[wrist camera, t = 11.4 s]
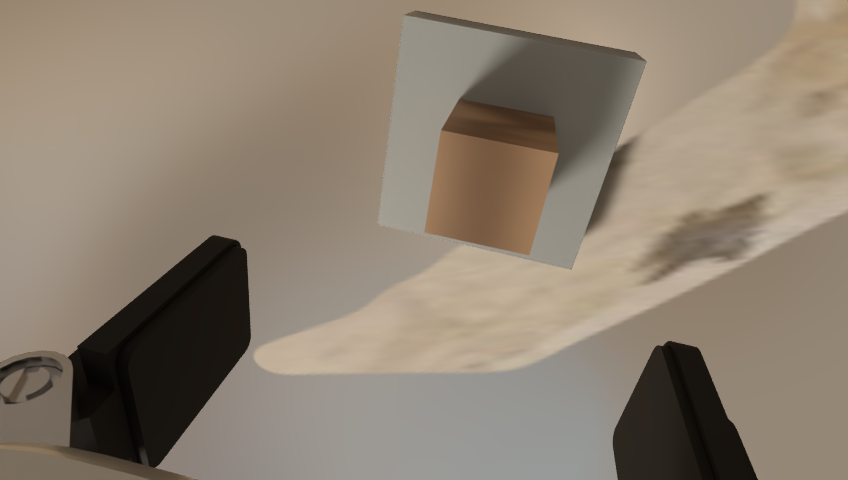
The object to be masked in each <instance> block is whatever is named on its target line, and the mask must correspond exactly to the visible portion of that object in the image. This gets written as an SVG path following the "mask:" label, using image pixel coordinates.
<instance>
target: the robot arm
mask: <svg viewBox="0 0 848 480" xmlns="http://www.w3.org/2000/svg"><path fill="white" fill-rule="evenodd" d="M248 290H249V289H248V269H247V253H246V250H245V249H244V248H241V245H240V243H239V242H238V241H237V240H233V239H229V238H224V237H220V236H215V235H214V236H211V237H209V238H208V239H207V240H206V241H205V242H203V243H202V244H201V245H200V246H198V247H197V248H196V249H195V250H193V251H192V252H191V253H190V254H189V255H187V256H186V257H185V258H184V259H183V260H182V261H180V262H179V263H178V264H177V265H175V266H174V267H173V268H172V269H170V270H169V271H168V272H167V273H166V274H165V275H163V276H162V277H161V278H160V279H159V280H157V281H156V282H155V283H154V284H152V285H151V286H150V287H149V288H147V289H146V290H145V291H144V292H143V293H141V294H140V295H139V296H138V297H137V298H135V299H134V300H133V301H132V302H130V303H129V304H128V305H127V306H126V307H124V308H123V309H122V310H121V311H120V312H118V313H117V314H116V315H115V316H114V317H112V318H111V319H110V320H109V321H107V322H106V323H105V324H104V325H103V326H101V327H100V328H99V329H98V330H97V331H95V332H94V333H93V334H92V335H90V336H89V337H88V338H87V339H86V340H84V341H83V342H82V343H81V344H80V345H78V346H77V347H78V349H77V350H76V351H75V352H74V353H72V354H71V355H70V356H69V357H68V358H67V357H66V356H65V355H63V354H60V353H58V352H53V351H36V352H28V353H24V354H20V355H17V356H13V357H11V358H9V359H6V360H4V361H2V362H0V480H197V479H193V478H190V477H186V476H183V475H179V474H176V473H172V472H168V471H164V470H161V469H157V468H155V467H156V466H158V465H159V464H160V463H161V462H162V460H163V459H164V457H165V456H166V455H167V454H168V452H169V451H170V450H171V449H172V447H173V446H174V445H175V443H176V442H177V441H178V439H179V438H180V437H181V435H182V434H183V433H184V431H185V430H186V429H187V428H188V426H189V425H190V424H191V422H192V421H193V420H194V418H195V417H196V416H197V414H198V413H199V412H200V411H201V409H202V408H203V407H204V405H205V404H206V402H207V401H208V400H209V399H210V397H211V396H212V395H213V393H214V392H215V391H216V389H217V388H218V387H219V386H220V384H221V383H222V382H223V380H224V379H225V377H226V376H227V375H228V374H229V372H230V371H231V370H232V369H233V367H234V366H235V365H236V363H237V362H238V361H239V359H240V358H241V357H242V355H243V354H244V353H245V351H246V350H247V348H248V346H249V343H250V339H251V333H250V332H251V331H250V310H249V291H248ZM613 450H614V456H615V463H616V470H617V477H618V480H758V479H757V477H756V474H755V472H754V470H753V467H752V465H751V462H750V460H749V457H748V455H747V453H746V450H745V448H744V446H743V443H742V441H741V438H740V436H739V434H738V431H737V429H736V428H735V426H734V424H733V423H732V422H731V421H730V420H729V419H728V418H727V415H726V413H725V410H724V408H723V405H722V403H721V400H720V398H719V396H718V393H717V391H716V388H715V386H714V383H713V381H712V378H711V376H710V374H709V371H708V369H707V366H706V364H705V362H704V359H703V357H702V354H701V352H700V350H699V349H698V348H697V347H693V346H689V345H685V344H680V343H676V342H672V341H668V342H666V343H665V344H664V346H659V345H658V346H656V347H655V348H654V350H653V352H652V354H651V356H650V358H649V360H648V362H647V364H646V366H645V368H644V370H643V372H642V374H641V376H640V378H639V381H638V383H637V385H636V387H635V389H634V391H633V393H632V395H631V397H630V399H629V401H628V403H627V405H626V407H625V409H624V411H623V413H622V416H621V418H620V420H619V422H618V424H617V426H616V428H615V431H614V435H613Z"/></svg>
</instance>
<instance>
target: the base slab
mask: <svg viewBox="0 0 848 480" xmlns="http://www.w3.org/2000/svg"><path fill="white" fill-rule="evenodd" d="M645 64H646V61H645V60H644V59H643V58H642V57H640V56H639V55H638V54H637V53H635V52H630V51H625V50H620V49H614V48H609V47H604V46H599V45H593V44H587V43H583V42H577V41H572V40H567V39H562V38H556V37H551V36H546V35H540V34H535V33H530V32H525V31H520V30H514V29H509V28H504V27H498V26H493V25H488V24H483V23H477V22H472V21H467V20H462V19H457V18H451V17H446V16H441V15H435V14H430V13H425V12H420V11H414V12H411V13H408V14H405V15H403V23H402V31H401V39H400V47H399V55H398V64H397V72H396V80H395V88H394V96H393V104H392V112H391V120H390V129H389V136H388V145H387V153H386V161H385V169H384V177H383V185H382V194H381V201H380V209H379V218H378V225H381V226H386V227H390V228H394V229H399V230H403V231H407V232H411V233H416V234H420V235H425V236H429V237H433V238H437V239H442V240H446V241H450V242H455V243H459V244H463V245H467V246H472V247H476V248H480V249H485V250H489V251H493V252H498V253H502V254H506V255H511V256H515V257H519V258H523V259H528V260H532V261H536V262H541V263H545V264H549V265H554V266H558V267H562V268H567V269H571V270H572V268H573V265H574V262H575V259H576V256H577V254H578V251H579V248H580V245H581V242H582V240H583V237H584V234H585V231H586V229H587V226H588V223H589V220H590V217H591V215H592V212H593V209H594V206H595V203H596V201H597V198H598V195H599V192H600V190H601V187H602V184H603V181H604V178H605V176H606V173H607V170H608V167H609V165H610V162H611V159H612V156H613V153H614V151H615V148H616V145H617V142H618V139H619V137H620V134H621V131H622V128H623V125H624V123H625V120H626V117H627V114H628V112H629V109H630V106H631V103H632V100H633V98H634V95H635V92H636V89H637V86H638V84H639V81H640V78H641V75H642V73H643V70H644V67H645ZM459 99H463V100H468V101H473V102H479V103H484V104H489V105H494V106H500V107H505V108H510V109H515V110H521V111H526V112H531V113H536V114H541V115H547V116H552V117H554V122H555V129H556V137H557V145H558V152H559V154H558V158H557V161H556V165H555V168H554V172H553V175H552V178H551V182H550V185H549V189H548V192H547V196H546V199H545V203H544V206H543V210H542V213H541V217H540V220H539V224H538V227H537V231H536V234H535V238H534V241H533V245H532V248H531V251H530V255H525V254H520V253H516V252H511V251H506V250H502V249H497V248H493V247H488V246H484V245H479V244H475V243H470V242H465V241H461V240H456V239H452V238H447V237H443V236H438V235H433V234H429V233H424V231H425V225H426V219H427V213H428V207H429V200H430V194H431V188H432V182H433V176H434V170H435V163H436V157H437V151H438V145H439V139H440V132H441V129H442V127H443V126H444V124H445V122H446V121H447V119H448V117H449V115H450V114H451V112H452V110H453V109H454V107H455V105H456V103H457V102H458V100H459Z"/></svg>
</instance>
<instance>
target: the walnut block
mask: <svg viewBox="0 0 848 480" xmlns="http://www.w3.org/2000/svg"><path fill="white" fill-rule="evenodd" d="M558 154H559V152H558V145H557V137H556V129H555V122H554V117H552V116H547V115H541V114H536V113H531V112H526V111H521V110H515V109H510V108H505V107H500V106H494V105H489V104H484V103H479V102H473V101H468V100H463V99H459V100H458V102H457V103H456V105H455V107H454V109H453V110H452V112H451V114H450V115H449V117H448V119H447V121H446V122H445V124H444V126H443V127H442V129H441V132H440V139H439V145H438V151H437V157H436V163H435V170H434V176H433V182H432V188H431V194H430V200H429V207H428V213H427V219H426V225H425V231H424V233H429V234H433V235H438V236H443V237H447V238H452V239H456V240H461V241H465V242H470V243H475V244H479V245H484V246H488V247H493V248H497V249H502V250H506V251H511V252H516V253H520V254H525V255H530V251H531V248H532V245H533V241H534V238H535V234H536V231H537V227H538V224H539V220H540V217H541V213H542V210H543V206H544V203H545V199H546V196H547V192H548V189H549V185H550V182H551V178H552V175H553V172H554V168H555V165H556V161H557V158H558Z"/></svg>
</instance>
